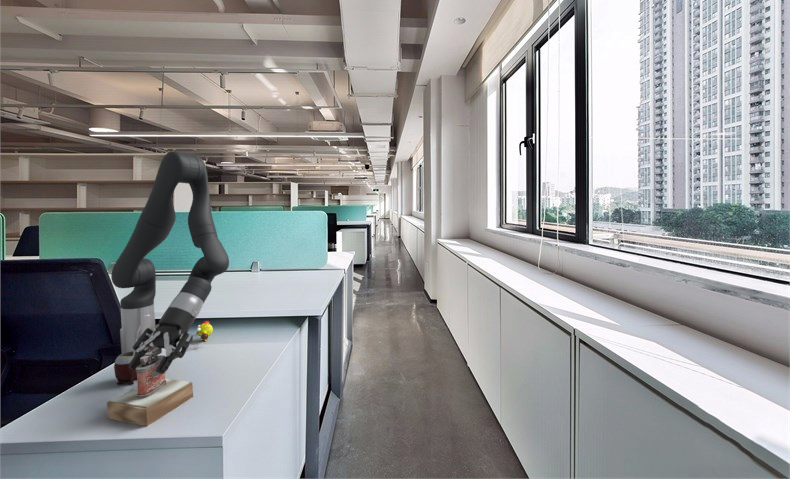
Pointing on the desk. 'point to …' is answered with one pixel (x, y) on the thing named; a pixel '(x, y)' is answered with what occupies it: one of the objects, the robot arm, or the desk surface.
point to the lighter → (149, 374)
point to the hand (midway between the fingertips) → (145, 370)
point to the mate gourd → (126, 366)
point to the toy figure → (204, 330)
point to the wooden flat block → (149, 403)
